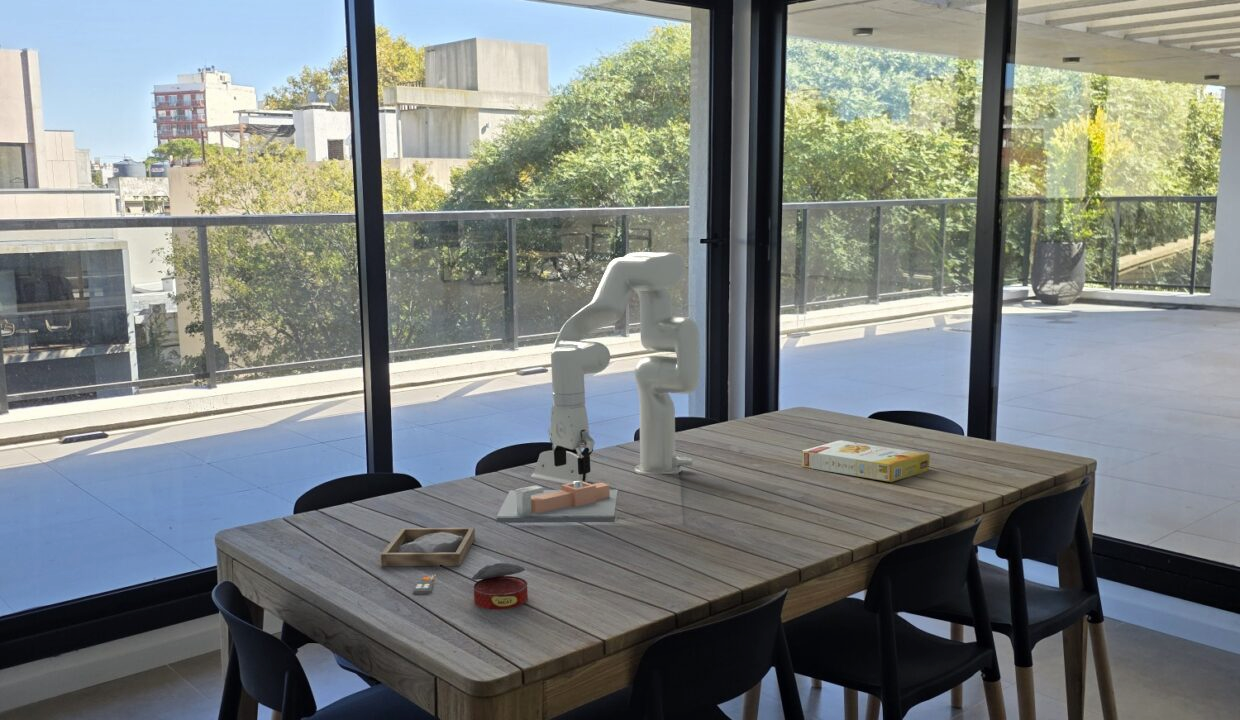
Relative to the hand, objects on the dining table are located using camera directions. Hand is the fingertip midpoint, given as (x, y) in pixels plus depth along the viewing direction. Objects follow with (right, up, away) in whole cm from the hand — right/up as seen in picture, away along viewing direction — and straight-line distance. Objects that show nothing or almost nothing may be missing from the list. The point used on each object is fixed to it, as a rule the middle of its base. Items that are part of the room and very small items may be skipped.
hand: (572, 469), depth 256 cm
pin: (+1, -9, +2) cm, 10 cm away
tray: (-29, -14, -30) cm, 44 cm away
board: (-3, -10, +2) cm, 10 cm away
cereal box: (+78, -4, +36) cm, 86 cm away
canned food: (-11, -18, -58) cm, 62 cm away
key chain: (-26, -18, -48) cm, 57 cm away
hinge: (-4, -7, +25) cm, 26 cm away
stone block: (-28, -15, -31) cm, 44 cm away
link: (-1, -8, 0) cm, 8 cm away
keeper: (-9, -11, -6) cm, 16 cm away
